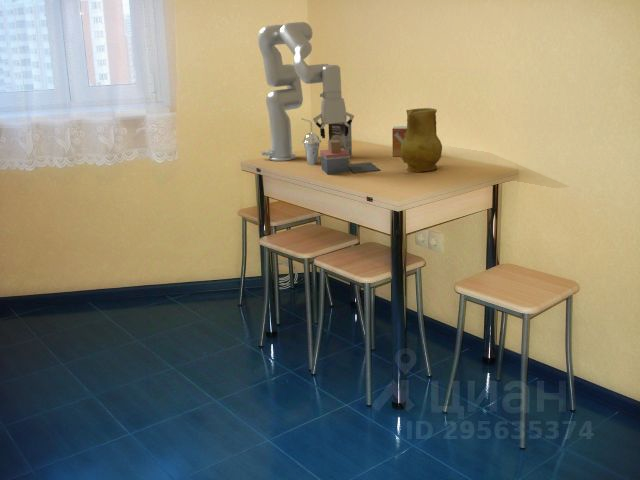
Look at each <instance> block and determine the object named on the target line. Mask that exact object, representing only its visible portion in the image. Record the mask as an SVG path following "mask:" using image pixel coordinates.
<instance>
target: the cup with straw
mask: <svg viewBox="0 0 640 480" xmlns="http://www.w3.org/2000/svg"><path fill="white" fill-rule="evenodd" d="M301 120H302V121H305V122H308V123H309V127H310V132H309V133H306V134H305V136H304V137H303V139H302V142H301V143H302V144H303V146H304V149H305V154H306V156H305V157H306V161H307V165H313V166H314V165H318V164H319V162H318V161H319V153H320V151H319V150H320V143H322V141H321V139H320V138H319V137H320V136H319V135H318V134H317V133H315V132H313V123H312V121H311V120H309V119H306V118H301Z"/></svg>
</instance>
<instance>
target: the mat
mask: <svg viewBox="0 0 640 480" xmlns="http://www.w3.org/2000/svg"><path fill="white" fill-rule="evenodd" d="M349 167H350V173H353V174H361V173H370V172H371V173H372V172H381V169H380V168H379V167H377V166H376V165H375V164H373V162H361V163H360V162H359V163H349Z"/></svg>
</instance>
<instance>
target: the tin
mask: <svg viewBox="0 0 640 480" xmlns="http://www.w3.org/2000/svg"><path fill="white" fill-rule="evenodd" d="M319 153H320V152H319ZM319 155H320V159H321V160H320V164H321V170H322V171H323V172H324V173H325V175H327V176H328V175H339V174H346V173H347V174H348V173H351V171H350V167H349V164H350V158H351V157H350V156H346V157H335V158H325V157H324V156H323V155H322V154H321V153H320V154H319Z"/></svg>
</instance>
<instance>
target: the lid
mask: <svg viewBox="0 0 640 480" xmlns="http://www.w3.org/2000/svg"><path fill="white" fill-rule="evenodd" d="M327 142H328V143H327V144H328V145H327V147H328V149H321V150H320V149H319V150H320V151H319V153H321V154H322V155H323V156H324V157H325V158H335V157H346V156H350V153H348V152H347V151H346V150H344V149H343V148H341V142H340V141H338V140H329V139H328V140H327Z"/></svg>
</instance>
